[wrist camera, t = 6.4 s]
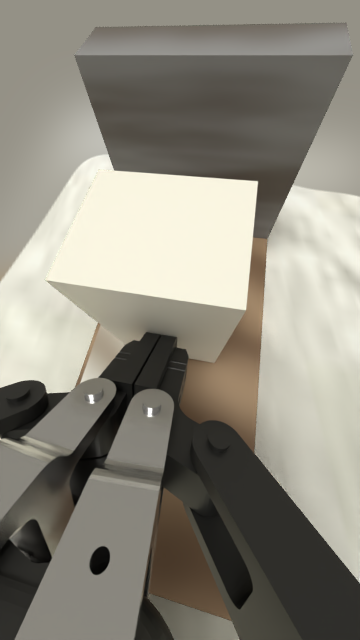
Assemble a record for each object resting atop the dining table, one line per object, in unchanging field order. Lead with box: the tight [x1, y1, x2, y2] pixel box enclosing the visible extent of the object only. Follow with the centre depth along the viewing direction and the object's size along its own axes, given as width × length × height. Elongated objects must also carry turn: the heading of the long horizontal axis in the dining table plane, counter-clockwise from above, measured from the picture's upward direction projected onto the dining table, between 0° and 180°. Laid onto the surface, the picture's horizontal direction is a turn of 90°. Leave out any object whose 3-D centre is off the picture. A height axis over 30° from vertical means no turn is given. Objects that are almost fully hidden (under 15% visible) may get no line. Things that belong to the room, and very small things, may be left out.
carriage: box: [45, 170, 258, 363], centre depth 11 cm, size 7×9×9 cm
